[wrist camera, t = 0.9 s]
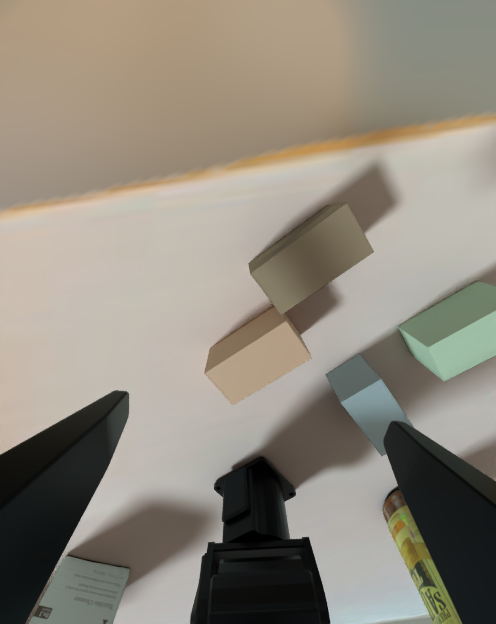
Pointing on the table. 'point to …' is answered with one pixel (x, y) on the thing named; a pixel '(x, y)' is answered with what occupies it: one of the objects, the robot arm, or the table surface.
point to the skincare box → (82, 594)
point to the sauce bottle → (418, 560)
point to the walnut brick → (310, 256)
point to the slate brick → (366, 399)
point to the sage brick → (454, 331)
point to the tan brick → (255, 355)
